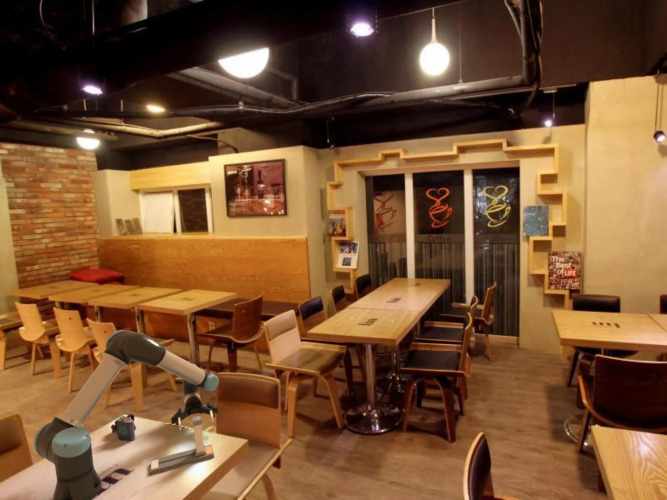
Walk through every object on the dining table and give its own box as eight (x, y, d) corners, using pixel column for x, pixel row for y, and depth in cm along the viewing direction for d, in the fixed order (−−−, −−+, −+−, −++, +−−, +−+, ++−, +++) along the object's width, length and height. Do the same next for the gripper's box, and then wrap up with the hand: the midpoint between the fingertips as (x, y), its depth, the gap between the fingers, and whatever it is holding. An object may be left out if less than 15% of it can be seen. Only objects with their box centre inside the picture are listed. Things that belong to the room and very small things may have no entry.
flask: (136, 438, 191) (134, 416, 190) (131, 441, 188) (128, 419, 187) (121, 435, 194) (118, 413, 193) (116, 439, 191) (113, 417, 190)
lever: (195, 456, 170) (192, 422, 169) (194, 449, 175) (191, 416, 174) (205, 453, 172) (202, 420, 170) (204, 446, 177) (201, 414, 176)
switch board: (150, 474, 163) (150, 470, 163) (151, 463, 170) (150, 459, 170) (214, 457, 172) (213, 453, 172) (211, 447, 179) (211, 444, 179)
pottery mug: (131, 437, 193) (119, 424, 191) (116, 444, 195) (104, 432, 193) (144, 418, 204) (133, 406, 202) (129, 425, 206) (118, 413, 204)
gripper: (220, 404, 206) (226, 424, 187) (166, 417, 197) (166, 439, 177) (218, 390, 205) (225, 408, 186) (164, 402, 196) (165, 422, 177)
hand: (196, 423), depth 182 cm, fingers open, 13 cm apart
